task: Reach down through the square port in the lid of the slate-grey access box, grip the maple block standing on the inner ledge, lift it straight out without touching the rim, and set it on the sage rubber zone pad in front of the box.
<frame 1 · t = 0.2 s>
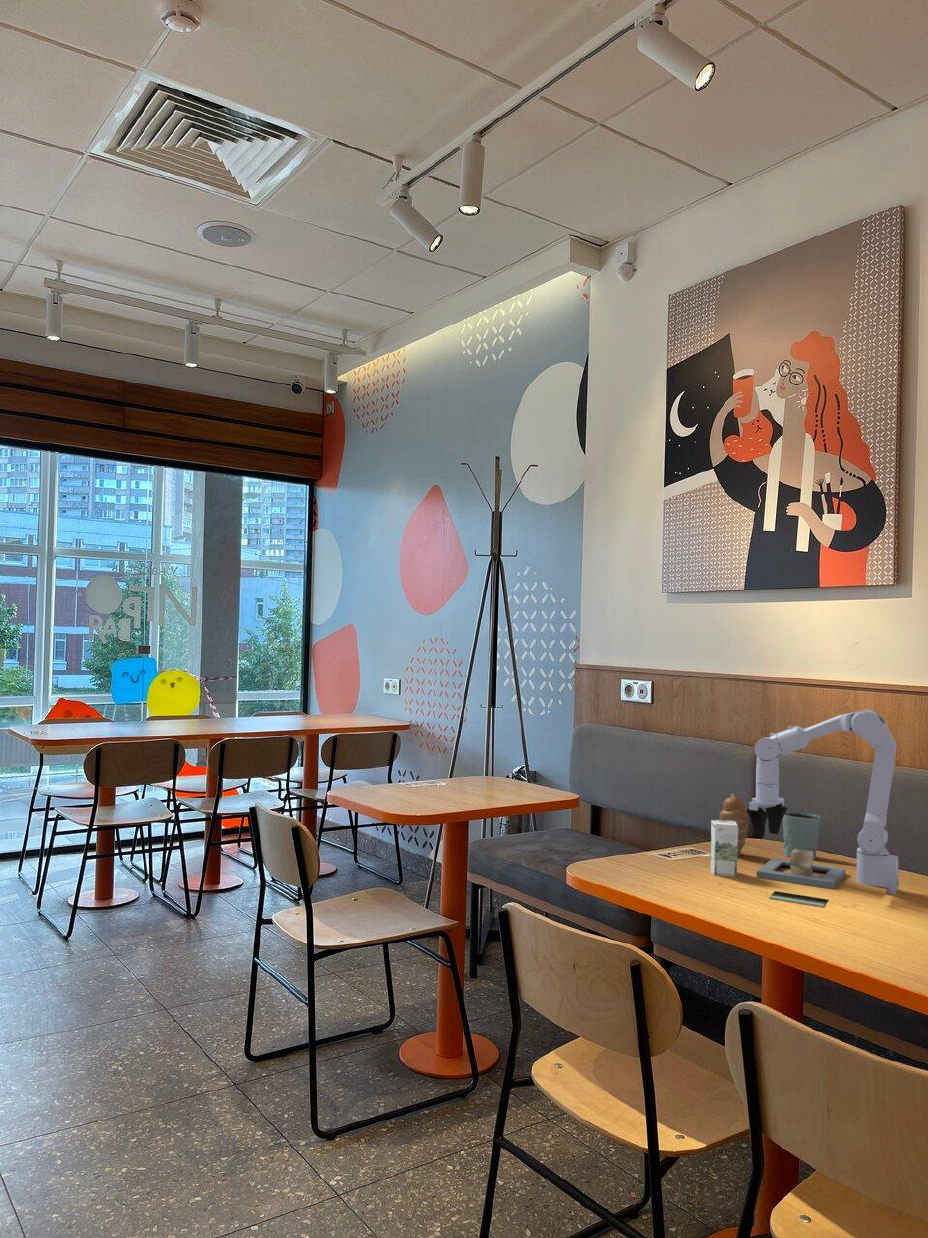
hand: (766, 835, 238), 10 cm above the table, fingers open, 7 cm apart
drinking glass: (800, 858, 258), on the table
maple block: (801, 875, 230), point 1 cm above the table, touching access box
syrup box: (723, 879, 230), on the table
access box: (801, 881, 230), on the table
zone pad: (800, 898, 214), on the table
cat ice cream: (732, 860, 253), on the table
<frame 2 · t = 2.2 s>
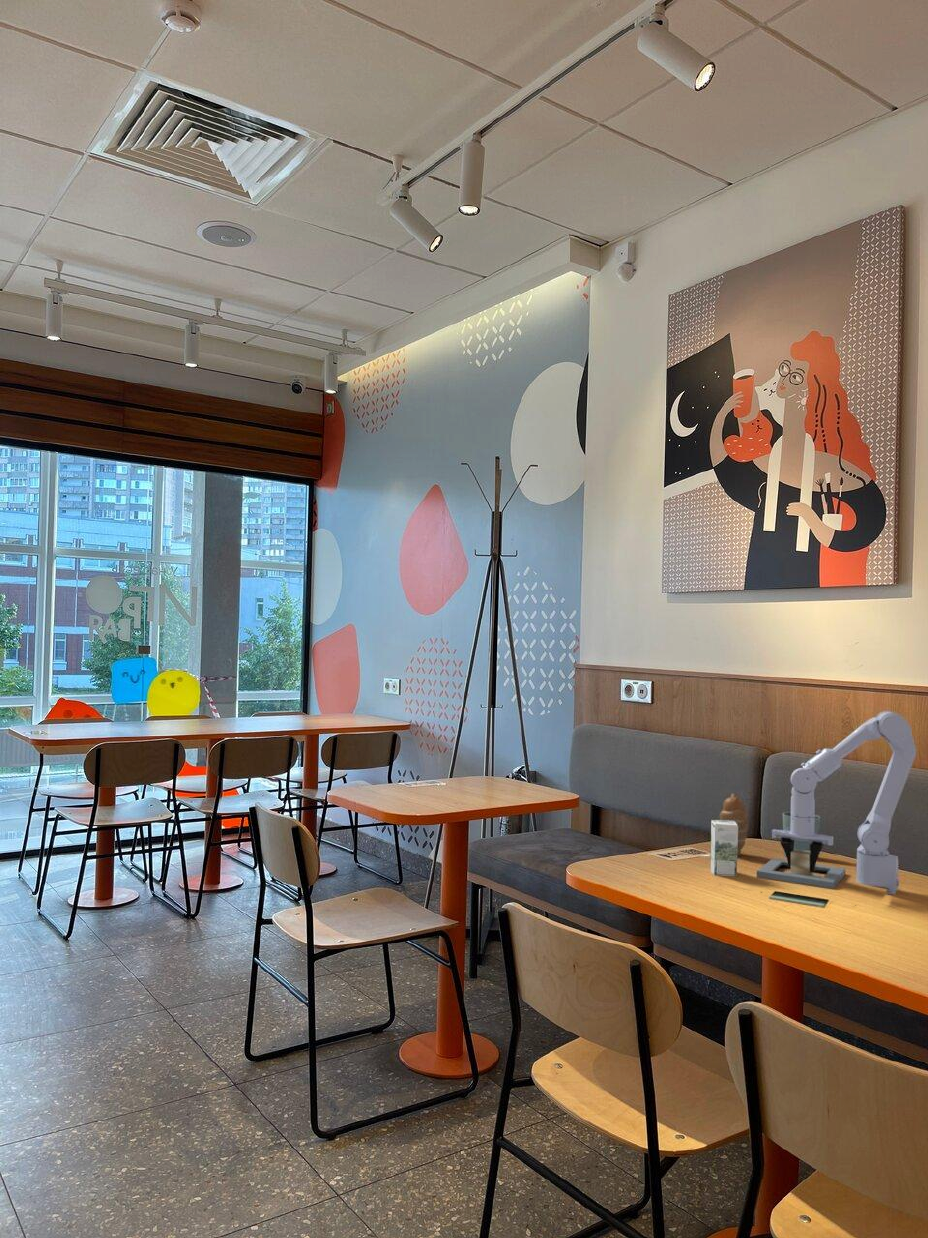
hand: (801, 870, 230), 3 cm above the table, fingers closed on maple block, 4 cm apart
maple block: (801, 875, 230), point 1 cm above the table, touching access box, gripper
everything else where it was.
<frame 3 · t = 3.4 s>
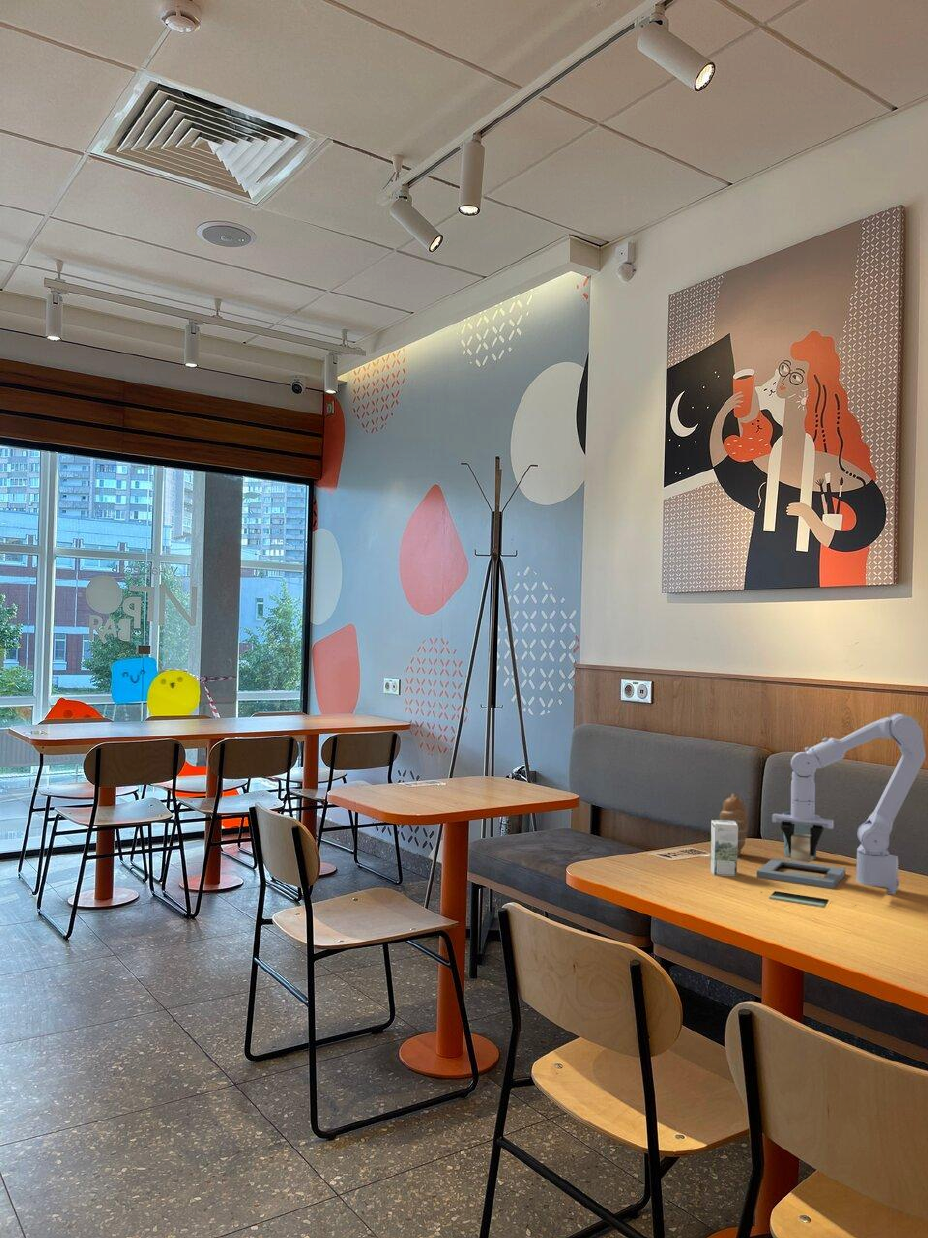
hand: (802, 853, 230), 7 cm above the table, fingers closed on maple block, 4 cm apart
maple block: (801, 859, 230), point 6 cm above the table, touching gripper
everything else where it was.
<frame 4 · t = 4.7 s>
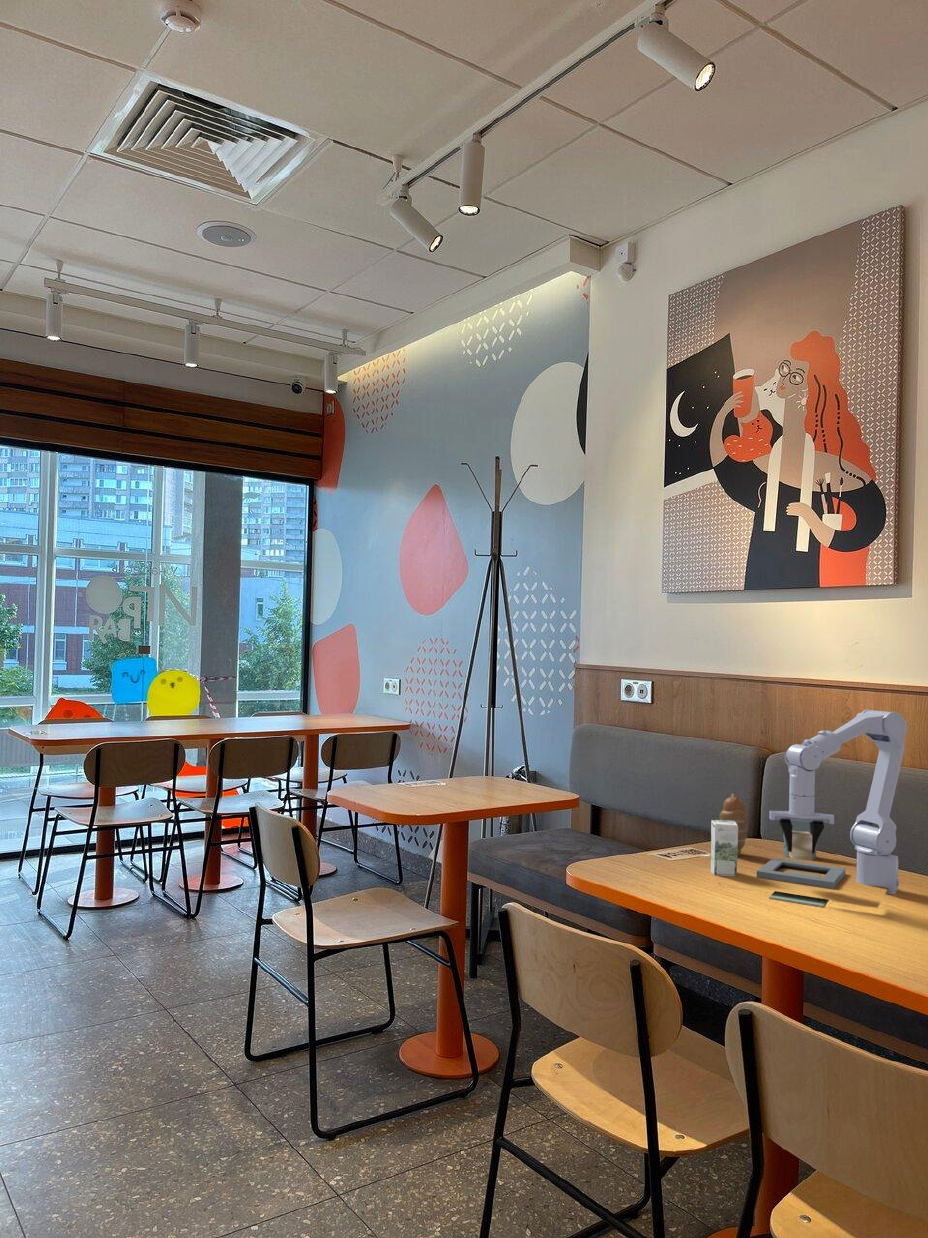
hand: (800, 851, 218), 10 cm above the table, fingers closed on maple block, 4 cm apart
maple block: (800, 858, 218), point 8 cm above the table, touching gripper
everything else where it was.
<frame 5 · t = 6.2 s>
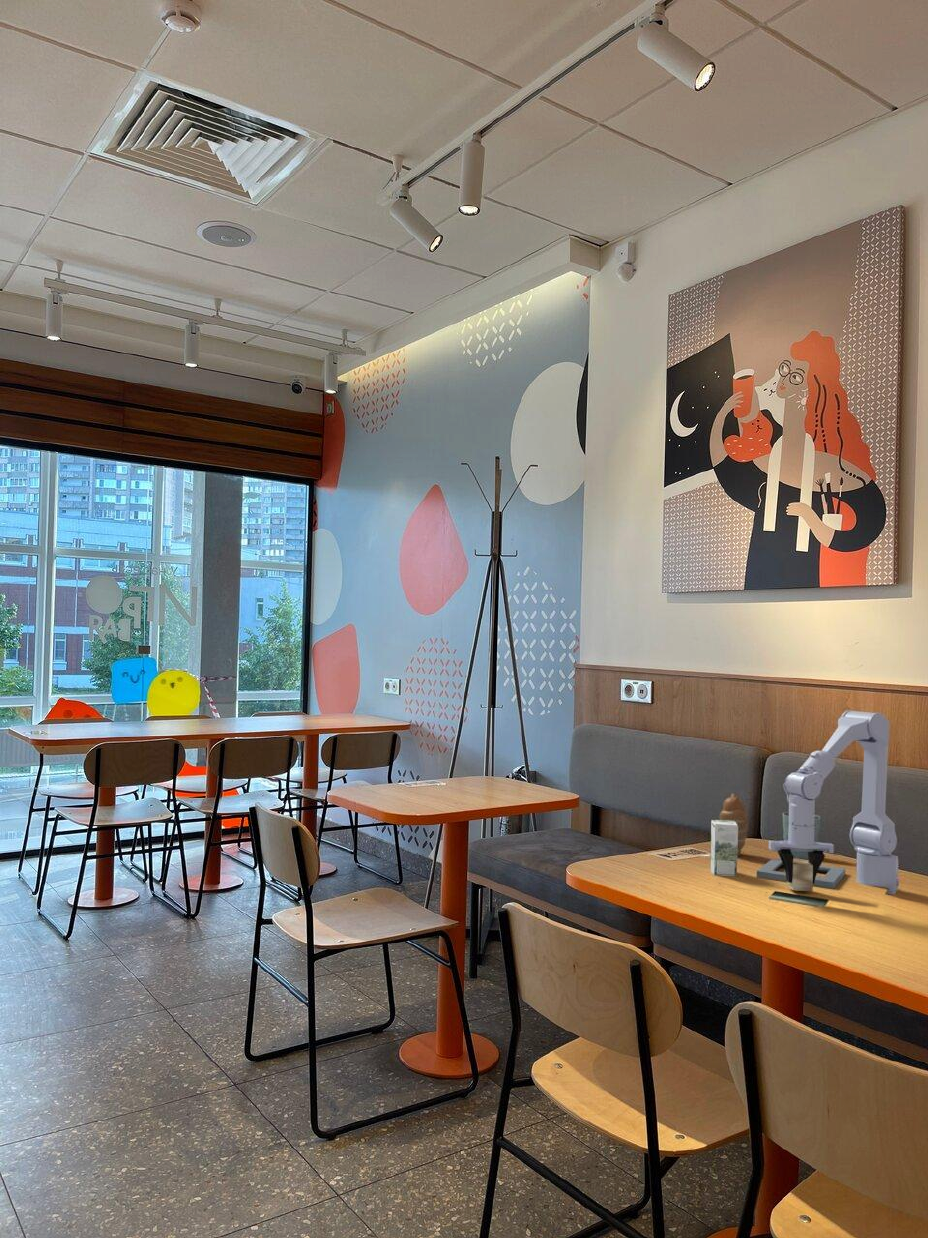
hand: (800, 882, 214), 4 cm above the table, fingers closed on maple block, 4 cm apart
maple block: (799, 888, 214), point 2 cm above the table, touching gripper
everything else where it was.
when the fingers open (3 cm above the table, at t = 7.2 s): maple block drops 1 cm, resting on zone pad.
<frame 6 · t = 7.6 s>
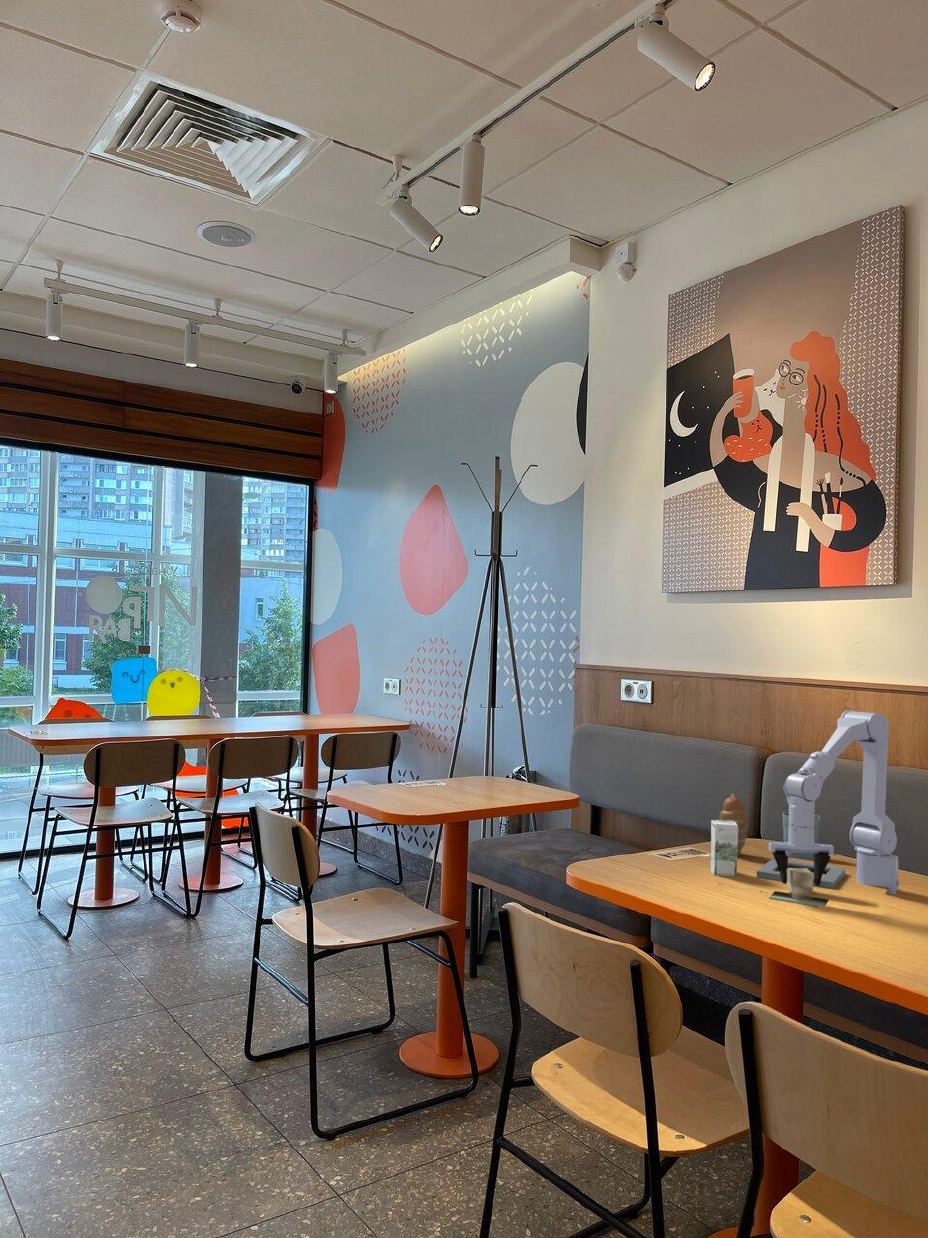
hand: (800, 883, 214), 3 cm above the table, fingers open, 7 cm apart
maple block: (799, 896, 214), resting on zone pad
everything else where it was.
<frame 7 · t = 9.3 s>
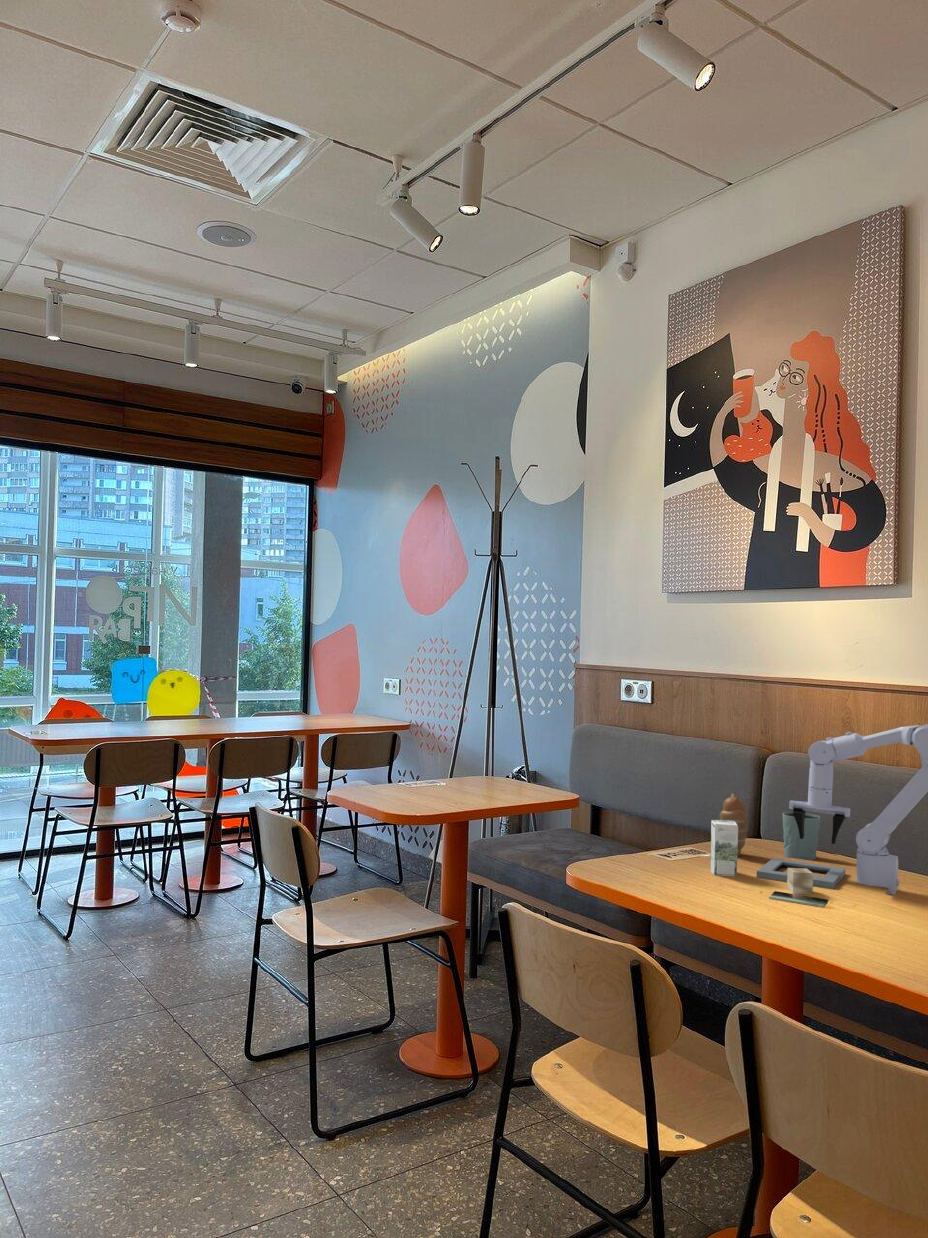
hand: (817, 840, 233), 10 cm above the table, fingers open, 7 cm apart
nothing on the table moved.
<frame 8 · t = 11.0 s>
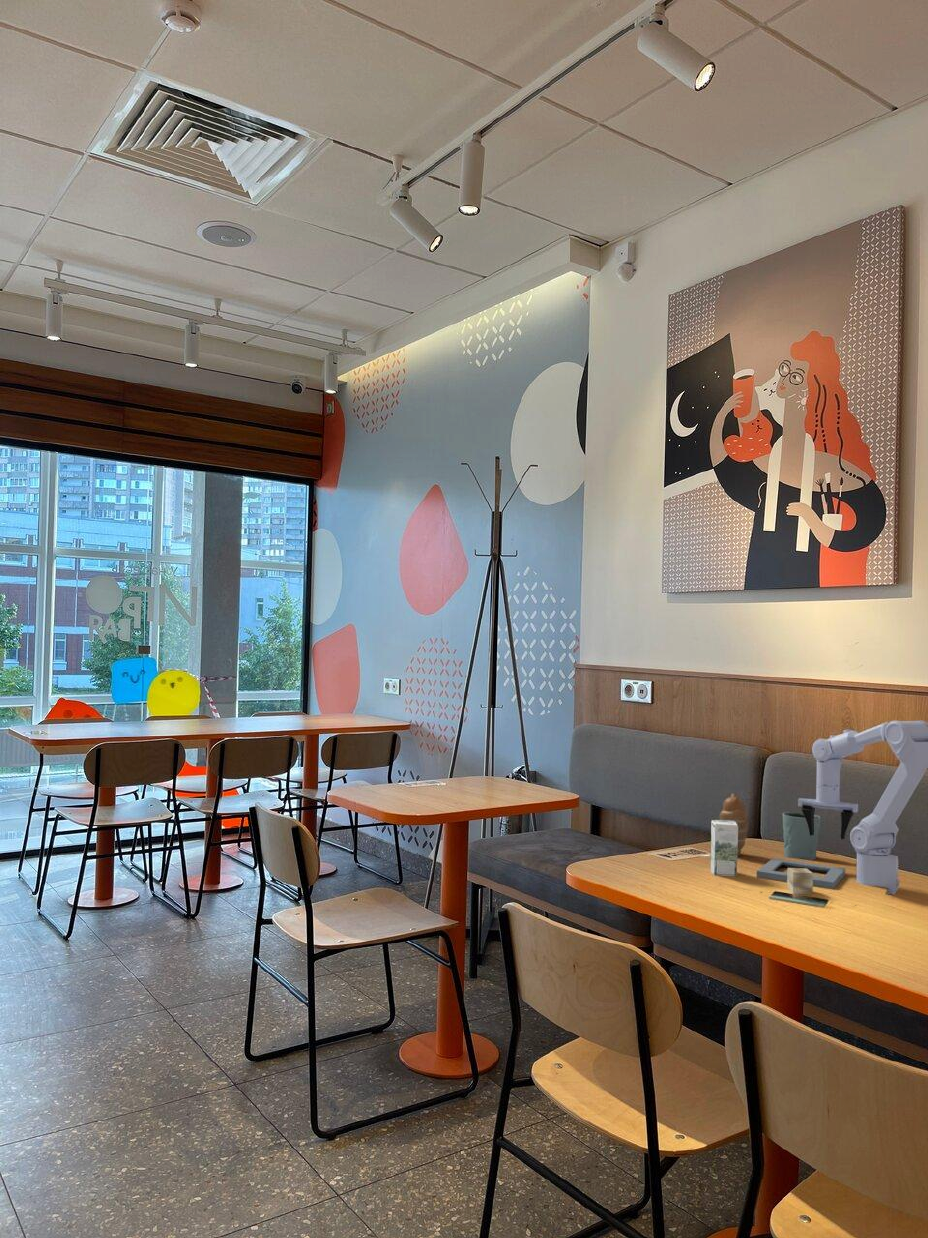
hand: (827, 836, 238), 10 cm above the table, fingers open, 7 cm apart
nothing on the table moved.
at the end: maple block inside the target area on the zone pad (0.4 cm from its centre), point 0.4 cm above the zone pad's base; maple block tilted 0°; the gripper is holding nothing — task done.
